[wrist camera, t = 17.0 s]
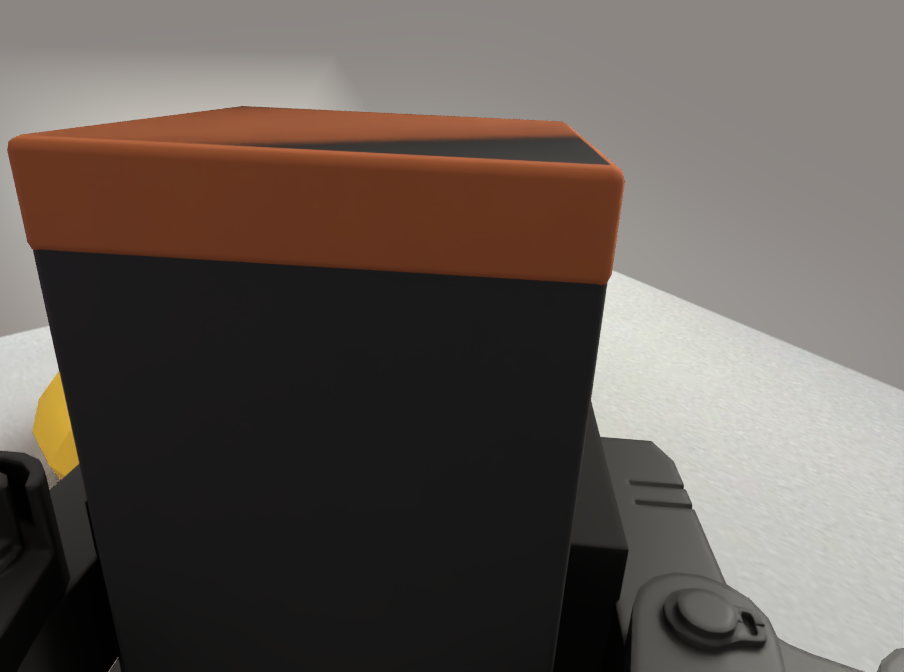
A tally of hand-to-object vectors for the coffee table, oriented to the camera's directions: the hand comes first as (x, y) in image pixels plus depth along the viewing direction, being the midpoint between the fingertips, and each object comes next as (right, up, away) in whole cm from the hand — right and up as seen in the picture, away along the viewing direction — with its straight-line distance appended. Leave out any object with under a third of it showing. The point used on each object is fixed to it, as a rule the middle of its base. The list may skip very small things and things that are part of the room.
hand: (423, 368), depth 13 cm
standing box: (-1, -8, -3) cm, 8 cm away
